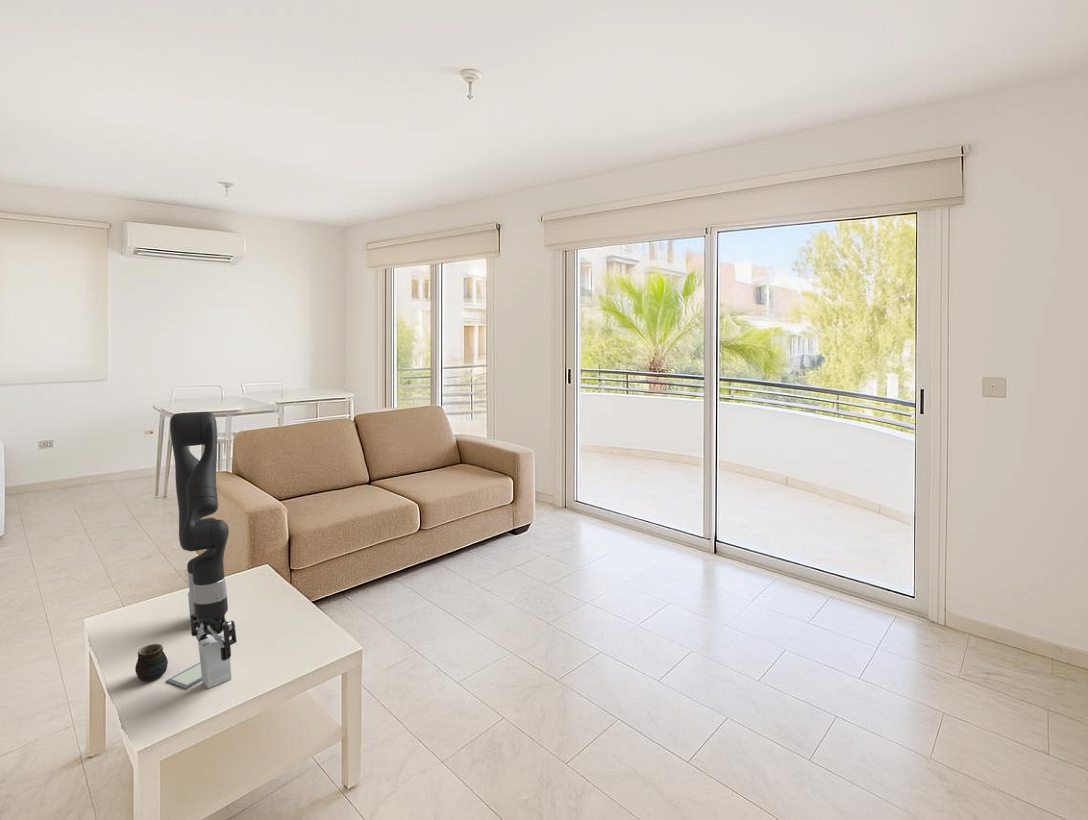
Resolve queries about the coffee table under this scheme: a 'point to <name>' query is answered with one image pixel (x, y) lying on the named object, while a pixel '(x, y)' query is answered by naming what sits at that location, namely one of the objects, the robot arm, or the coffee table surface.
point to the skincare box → (213, 663)
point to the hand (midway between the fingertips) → (215, 655)
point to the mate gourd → (151, 662)
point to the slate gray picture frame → (187, 677)
